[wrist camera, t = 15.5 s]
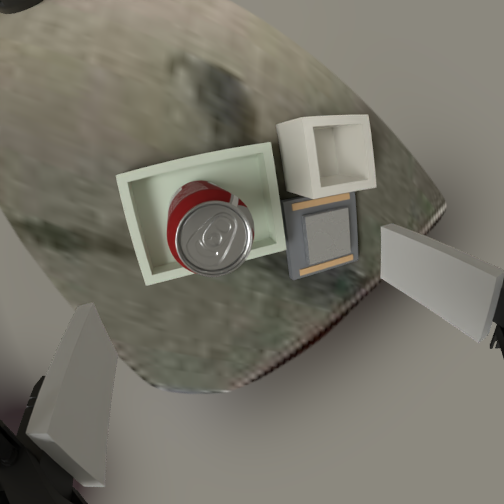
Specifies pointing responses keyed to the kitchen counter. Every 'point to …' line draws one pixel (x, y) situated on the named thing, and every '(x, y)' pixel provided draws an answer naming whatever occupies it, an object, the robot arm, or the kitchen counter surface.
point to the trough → (207, 169)
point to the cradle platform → (326, 234)
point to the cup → (327, 155)
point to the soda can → (209, 229)
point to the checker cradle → (295, 236)
